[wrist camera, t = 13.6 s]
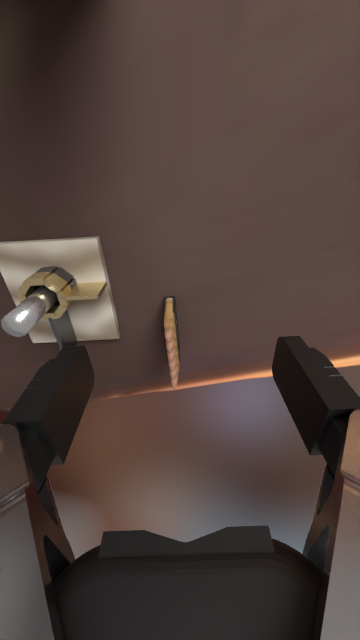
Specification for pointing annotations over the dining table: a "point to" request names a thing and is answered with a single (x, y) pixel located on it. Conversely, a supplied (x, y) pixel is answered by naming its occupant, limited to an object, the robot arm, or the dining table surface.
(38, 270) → the base plate with nut
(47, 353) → the dining table surface
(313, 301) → the dining table surface
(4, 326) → the hinge pin
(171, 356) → the ammunition clip
